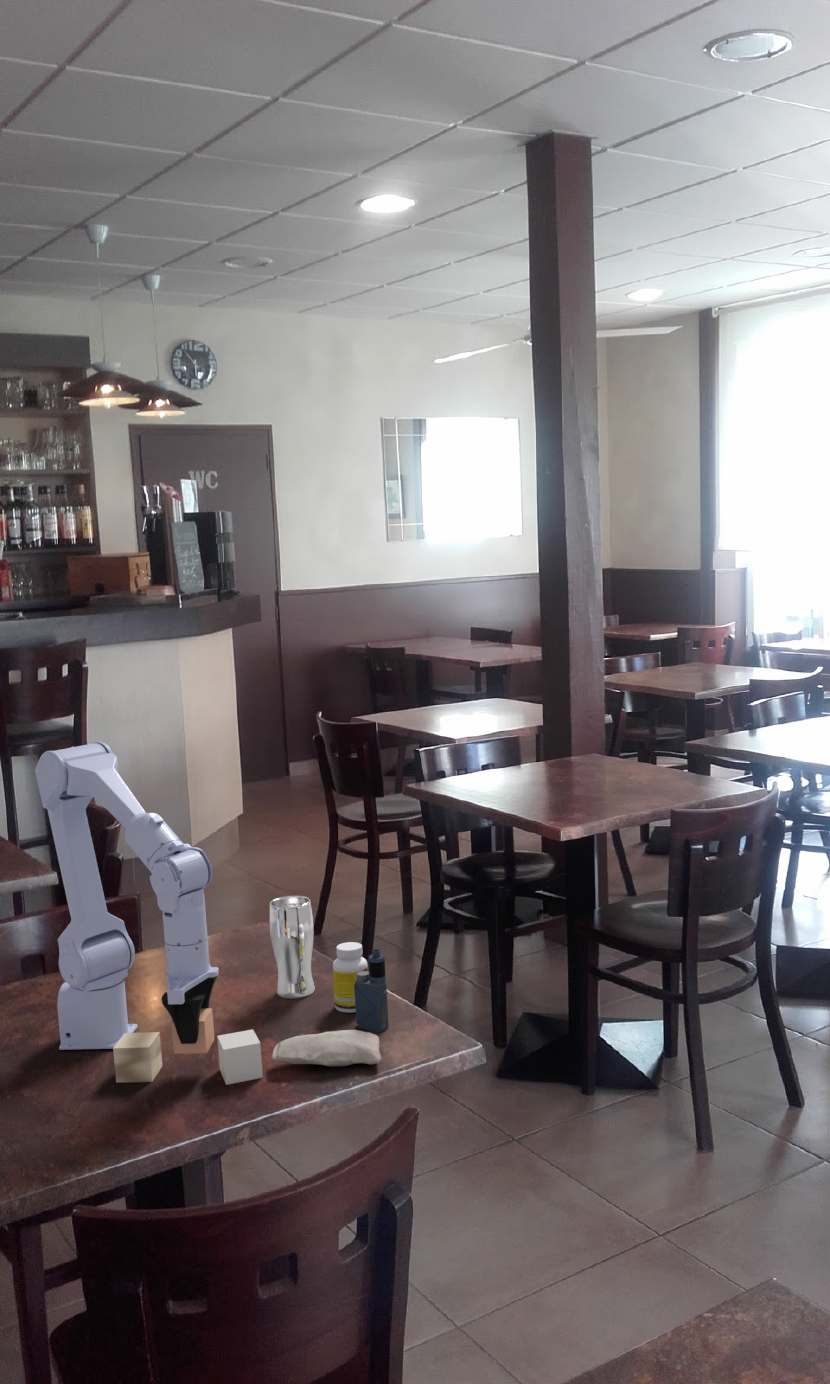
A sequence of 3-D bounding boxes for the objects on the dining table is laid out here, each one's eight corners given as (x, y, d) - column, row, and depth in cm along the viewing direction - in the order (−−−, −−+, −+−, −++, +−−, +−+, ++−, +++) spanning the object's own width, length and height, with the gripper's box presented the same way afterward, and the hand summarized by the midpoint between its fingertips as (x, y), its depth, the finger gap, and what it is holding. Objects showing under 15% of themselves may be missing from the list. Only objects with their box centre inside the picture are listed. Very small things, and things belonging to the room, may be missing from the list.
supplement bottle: (365, 1014, 180) (361, 952, 179) (330, 1013, 181) (326, 951, 180) (373, 1001, 186) (369, 940, 184) (340, 1000, 187) (336, 940, 185)
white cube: (226, 1085, 159) (223, 1049, 158) (219, 1070, 164) (217, 1035, 163) (262, 1078, 160) (260, 1043, 160) (255, 1063, 165) (253, 1029, 165)
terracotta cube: (174, 1054, 160) (171, 1022, 160) (182, 1040, 165) (180, 1009, 164) (206, 1053, 160) (204, 1021, 160) (214, 1039, 165) (212, 1008, 164)
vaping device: (382, 1033, 173) (378, 954, 171) (353, 1027, 176) (348, 949, 174) (392, 1027, 175) (388, 948, 173) (363, 1021, 178) (358, 944, 176)
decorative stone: (383, 1042, 160) (271, 1054, 158) (384, 1072, 161) (273, 1084, 159) (376, 1014, 170) (270, 1024, 168) (377, 1042, 170) (272, 1053, 168)
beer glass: (326, 987, 192) (320, 898, 190) (299, 1002, 186) (293, 910, 184) (292, 981, 196) (286, 893, 194) (265, 995, 190) (259, 905, 188)
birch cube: (116, 1083, 161) (113, 1048, 161) (127, 1067, 166) (124, 1033, 166) (152, 1082, 161) (149, 1047, 160) (162, 1066, 166) (159, 1032, 165)
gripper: (202, 957, 153) (209, 1057, 155) (227, 921, 168) (233, 1013, 169) (148, 958, 154) (156, 1058, 155) (178, 923, 168) (185, 1014, 170)
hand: (193, 1035), depth 162 cm, fingers closed on terracotta cube, 4 cm apart
